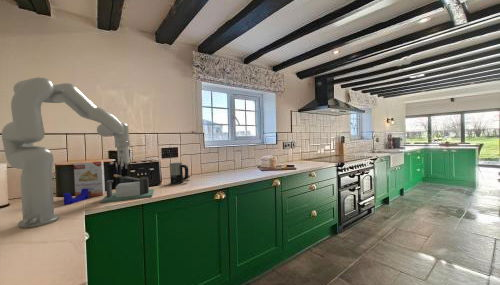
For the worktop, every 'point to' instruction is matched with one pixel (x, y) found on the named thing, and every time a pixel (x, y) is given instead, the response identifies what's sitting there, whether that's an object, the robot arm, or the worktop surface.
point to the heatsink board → (113, 198)
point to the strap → (126, 177)
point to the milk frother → (178, 173)
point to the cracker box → (89, 178)
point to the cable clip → (70, 200)
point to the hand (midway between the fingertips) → (124, 175)
